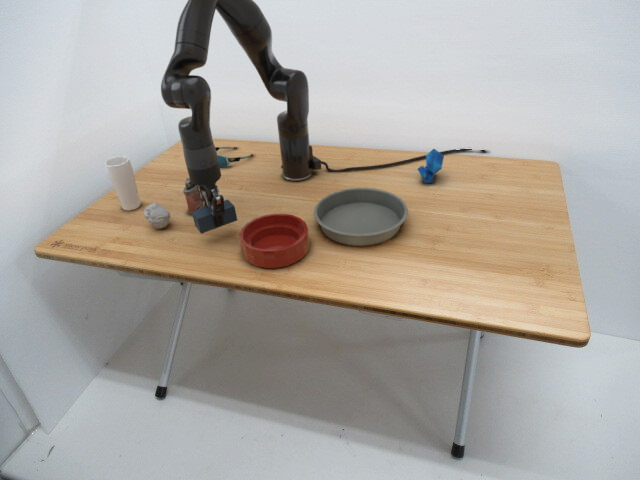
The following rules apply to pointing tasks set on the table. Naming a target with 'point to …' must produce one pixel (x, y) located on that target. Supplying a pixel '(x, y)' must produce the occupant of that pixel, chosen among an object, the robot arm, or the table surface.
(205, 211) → the blue rectangular block
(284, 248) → the bowl
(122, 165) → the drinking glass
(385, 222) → the cake pan
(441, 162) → the crystal
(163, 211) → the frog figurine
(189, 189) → the lighter
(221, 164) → the sunglasses
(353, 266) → the table surface
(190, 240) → the table surface
